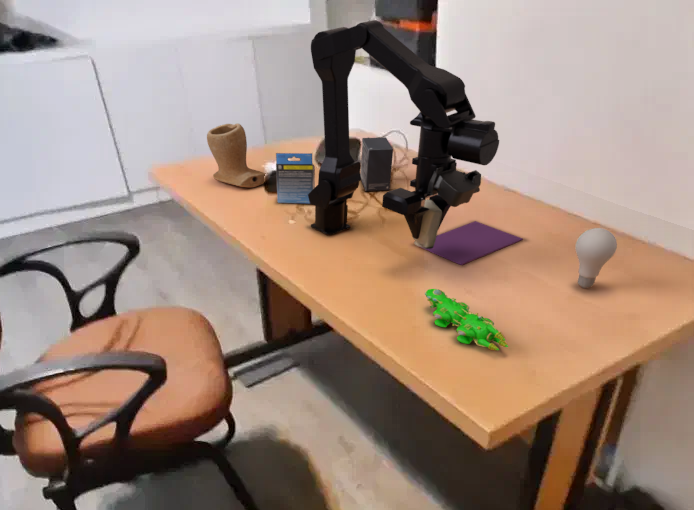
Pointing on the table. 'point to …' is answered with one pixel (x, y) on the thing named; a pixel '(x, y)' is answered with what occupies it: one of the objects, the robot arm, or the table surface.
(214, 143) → the tan boot-shaped vase
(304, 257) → the table surface
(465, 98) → the robot arm
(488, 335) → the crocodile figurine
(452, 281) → the table surface
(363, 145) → the small box
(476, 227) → the felt cloth
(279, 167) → the tape cartridge
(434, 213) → the grey rounded block
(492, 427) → the table surface
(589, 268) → the lightbulb
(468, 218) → the table surface
